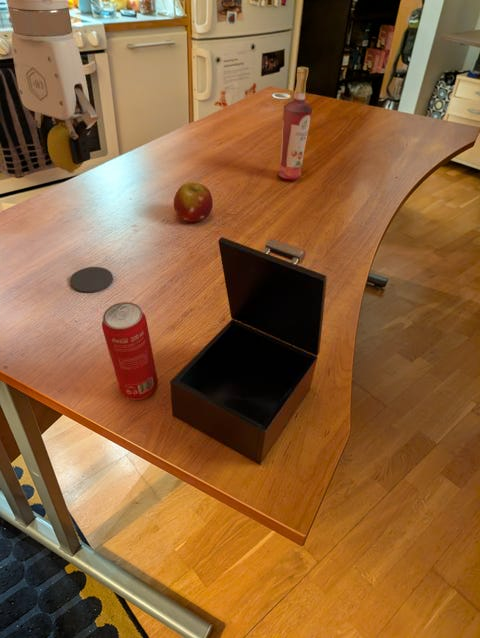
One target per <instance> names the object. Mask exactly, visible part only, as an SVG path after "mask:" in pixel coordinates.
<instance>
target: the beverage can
mask: <svg viewBox="0 0 480 638" xmlns="http://www.w3.org/2000/svg"><path fill="white" fill-rule="evenodd" d="M148 326H149V325H148V321H147V317H146V314H145V313H144V312H143V311H142V309H141V306H139V305H138V304H136V303H134V302H131V301H130V302H129V301H123V302H122V301H121V302H117V303H113V304H112V305H110V306H109V307H108V308H106V309H105V311H104V312H103V315H102V321H101V328H102V329H101V330H102V333H103V336H104V339H105V343H106V347H107V351H108V354H109V357H110V361H111V364H112V368H113V371H114V375H115V379H116V382H117V386H118V389H119V392H120V393H121V395H123V397H125V398H127V399H129V400H135V401H136V400H142V399H146V398H148V397H149V396H151V395H152V393H154V392H155V390H156V389H157V387H158V375H157V369H156V364H155V359H154V353H153V348H152V343H151V336H150V332H149V331H150V330H149V327H148Z"/></svg>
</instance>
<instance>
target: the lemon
mask: <svg viewBox="0 0 480 638" xmlns="http://www.w3.org/2000/svg"><path fill="white" fill-rule="evenodd" d="M57 124H58V125H56V126H54V127H53V128H52V129H51V130H50V132H49V134H48V141H47V143H48V151H49V157H50V160H51V161H52V162H53V163H54V165H55V166H56V167H57V168H59V169H61V170H64V171H66V172H68V173H69V174H73V173H74V172H75V171H76V170H78V169H79V168H81V167H82V166H83V164H84V162H82V163H80V164H78V165H76V164H74V163H73V161H72V156H71V150H70V145H69V139H68V138H71V135H70V132H69V130H68V127H67V125H66V122H65V121H60V122H59V123H57Z"/></svg>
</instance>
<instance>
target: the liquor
mask: <svg viewBox="0 0 480 638" xmlns="http://www.w3.org/2000/svg"><path fill="white" fill-rule="evenodd" d="M308 76H309V67H308V66H307V67H306V66H298V67H297V70H296V85H295V90H294V94H293V100H291V101H288V102H287V103H285V105H284V106H283V113H282V114H283V115H282V126H281V127H282V129H281V147H280V158H279V159H280V160H279V169H278V170H277V175H278V176H279V177H280V178H281V179H282V180H283V181H286V182H295V181H298V179H300V178H302V176H303V173H302V167H303V160H304V155H305V150H306V149H305V148H306V145H307V140H308V139H307V138H308V135H309V129H310V124H311V123H310V122H311V119H312V118H311V117H312V113H313V107H312V106H311V105H310V104H309V103H308V102H306V89H307V85H306V84H307V79H308Z"/></svg>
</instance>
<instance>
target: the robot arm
mask: <svg viewBox="0 0 480 638" xmlns="http://www.w3.org/2000/svg"><path fill="white" fill-rule="evenodd" d="M6 6H7V9H8V13H9V18H10V23H11V26H12V33H11V50H12V59H13V65H14V72H15V78H16V82H17V88H18V93H19V96H20V100H21V104H22V105H23V106H24V107H25V108H26V109H27V110H28V112H29V113H30V115H31V116H32V117H33V119H34V124H35V126H36V127H37V128H38V131H39V135H40V139H41V144H42V148H43V153H44V154H45V155H49V151H48V143H47V141H48V134H49V132H50V130H51V129H52V128H53V127H54V126H56V125H58V124H59V123H55V119H58V120H61V121H64V123H65V124H66V125H67V127H68V130H69V132H70V135H71V138H68V139H69V145H70V150H71V156H72V161H73V163H74V164H76V165H78V164H80V163H82V162H83V163H84V162H87V161H90V160H91V152H90V151H91V150H90V144H89V139H88V136H89V135H90V133H91V129H92V128H93V126H95V124H96V122H97V121H98V120H99V115H98V113H97V111H96V110H95V108H94V107H93V106H92V103H91V102H90V95H89V89H88V82H87V79H86V73H85V70H84V64H83V61H82V57H81V54H80V50H79V47H78V43H77V40H76V38H75V37H74V32H73V27H72V25H73V24H72V19H71V14H70V7H69V1H68V0H6ZM74 120H77V124H75V121H74ZM49 156H50V155H49Z"/></svg>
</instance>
